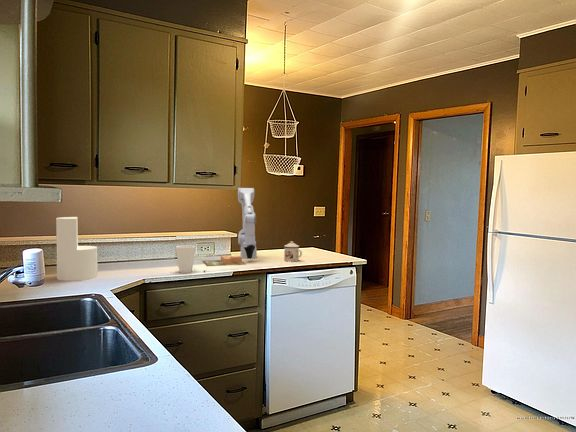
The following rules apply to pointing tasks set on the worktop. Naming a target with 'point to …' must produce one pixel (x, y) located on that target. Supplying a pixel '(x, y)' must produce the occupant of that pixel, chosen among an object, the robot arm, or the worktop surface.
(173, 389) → the worktop surface
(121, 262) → the worktop surface
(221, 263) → the board
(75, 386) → the worktop surface
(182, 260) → the foam cup
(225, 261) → the t block
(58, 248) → the cream l-shaped block
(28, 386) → the worktop surface
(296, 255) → the teacup with lid
